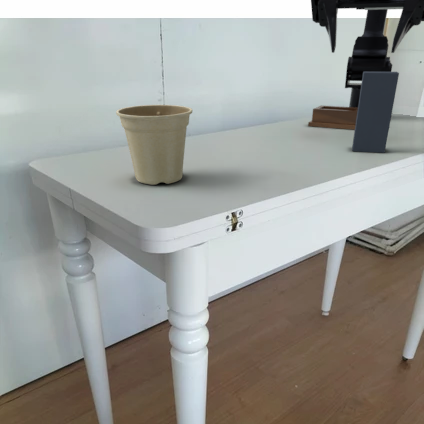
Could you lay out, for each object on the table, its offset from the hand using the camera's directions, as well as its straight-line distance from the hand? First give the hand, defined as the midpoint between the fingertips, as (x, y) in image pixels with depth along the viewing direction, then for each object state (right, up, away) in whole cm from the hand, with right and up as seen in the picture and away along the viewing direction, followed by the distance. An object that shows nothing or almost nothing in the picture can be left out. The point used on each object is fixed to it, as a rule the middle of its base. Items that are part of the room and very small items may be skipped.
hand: (362, 51), depth 72 cm
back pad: (+2, -15, +2) cm, 15 cm away
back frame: (+2, -3, +22) cm, 23 cm away
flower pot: (-31, -24, -11) cm, 41 cm away
